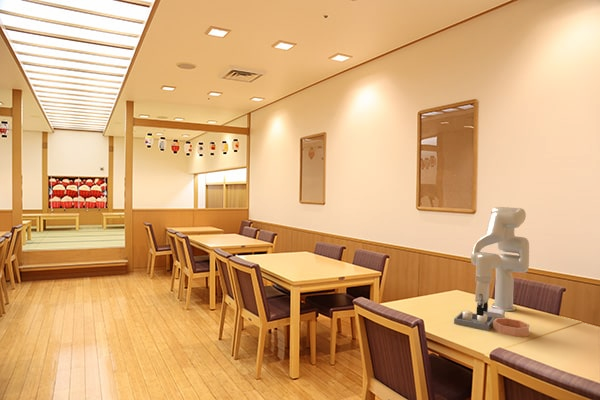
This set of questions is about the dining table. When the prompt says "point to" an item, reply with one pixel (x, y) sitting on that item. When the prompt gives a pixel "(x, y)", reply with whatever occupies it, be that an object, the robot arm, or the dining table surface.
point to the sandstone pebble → (467, 315)
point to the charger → (495, 313)
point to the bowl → (511, 327)
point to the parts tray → (474, 322)
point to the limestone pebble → (482, 319)
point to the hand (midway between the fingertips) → (482, 313)
